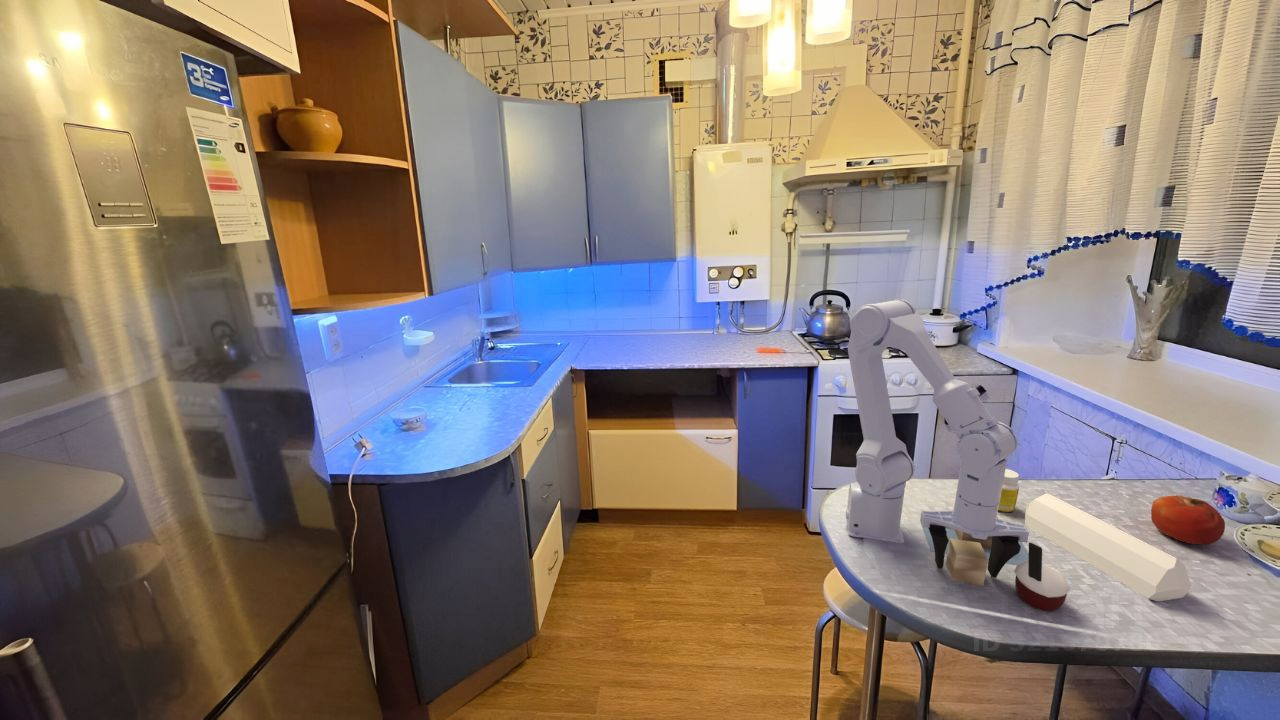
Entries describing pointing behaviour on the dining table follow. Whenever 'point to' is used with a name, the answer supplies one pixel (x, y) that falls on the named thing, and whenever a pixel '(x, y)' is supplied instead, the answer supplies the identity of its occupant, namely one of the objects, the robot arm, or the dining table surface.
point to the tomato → (1187, 519)
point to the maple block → (966, 561)
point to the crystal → (1109, 549)
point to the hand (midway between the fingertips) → (964, 569)
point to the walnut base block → (975, 539)
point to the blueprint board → (1015, 560)
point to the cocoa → (1040, 582)
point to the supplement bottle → (1009, 493)
